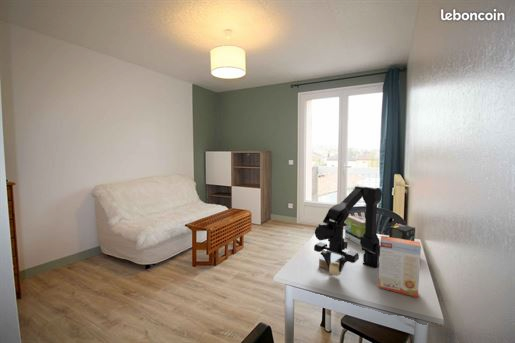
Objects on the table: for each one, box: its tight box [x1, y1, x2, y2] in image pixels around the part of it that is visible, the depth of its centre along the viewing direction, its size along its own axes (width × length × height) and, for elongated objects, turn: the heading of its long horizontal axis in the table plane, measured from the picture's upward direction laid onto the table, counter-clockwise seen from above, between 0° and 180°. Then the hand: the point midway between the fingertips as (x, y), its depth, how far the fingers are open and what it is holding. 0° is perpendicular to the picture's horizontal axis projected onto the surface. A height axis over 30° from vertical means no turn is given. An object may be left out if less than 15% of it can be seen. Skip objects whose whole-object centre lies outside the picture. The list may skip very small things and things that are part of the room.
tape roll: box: [328, 262, 341, 276], centre depth 107 cm, size 5×5×4 cm
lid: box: [318, 253, 342, 262], centre depth 119 cm, size 7×12×1 cm, turn 137°
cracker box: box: [378, 235, 422, 298], centre depth 97 cm, size 14×6×21 cm, turn 59°
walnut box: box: [318, 259, 339, 271], centre depth 119 cm, size 7×12×4 cm, turn 137°
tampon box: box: [388, 223, 416, 241], centre depth 136 cm, size 11×9×15 cm
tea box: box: [344, 214, 366, 247], centre depth 152 cm, size 15×10×15 cm
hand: (334, 270), depth 107 cm, fingers closed on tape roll, 5 cm apart
